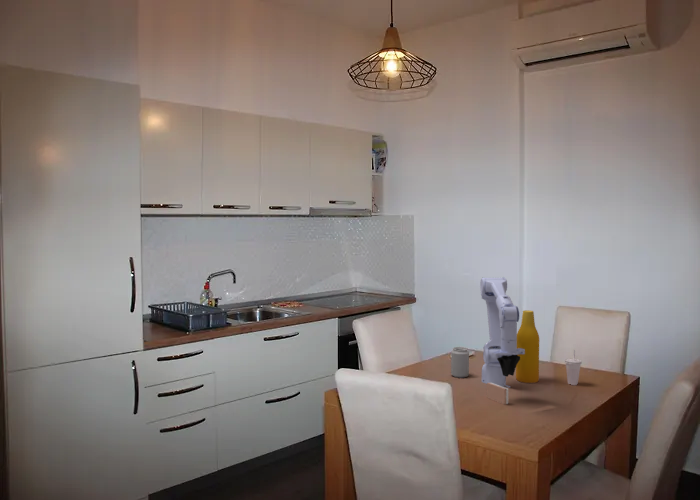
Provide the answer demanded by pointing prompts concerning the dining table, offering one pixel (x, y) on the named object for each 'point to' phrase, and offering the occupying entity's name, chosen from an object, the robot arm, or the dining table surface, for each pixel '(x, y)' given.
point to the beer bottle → (528, 350)
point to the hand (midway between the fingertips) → (508, 375)
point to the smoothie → (573, 369)
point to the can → (460, 362)
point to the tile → (497, 393)
